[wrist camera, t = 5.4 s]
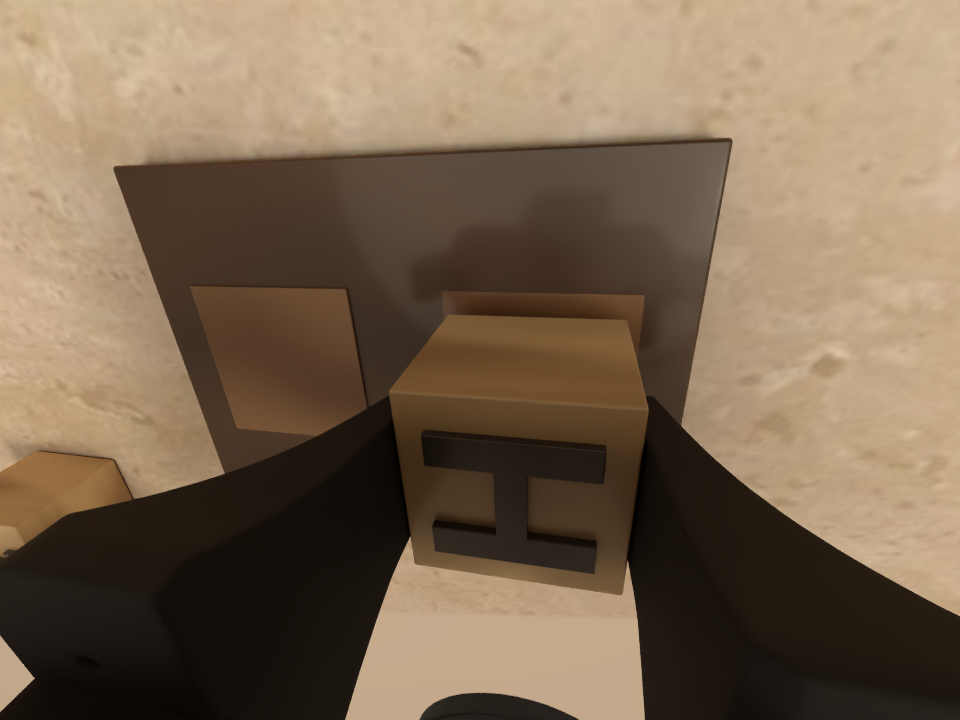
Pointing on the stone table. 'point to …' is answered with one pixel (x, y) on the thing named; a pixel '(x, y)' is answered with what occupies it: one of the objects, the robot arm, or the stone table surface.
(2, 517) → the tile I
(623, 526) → the tile
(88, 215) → the stone table surface
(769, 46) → the stone table surface
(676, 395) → the word board
